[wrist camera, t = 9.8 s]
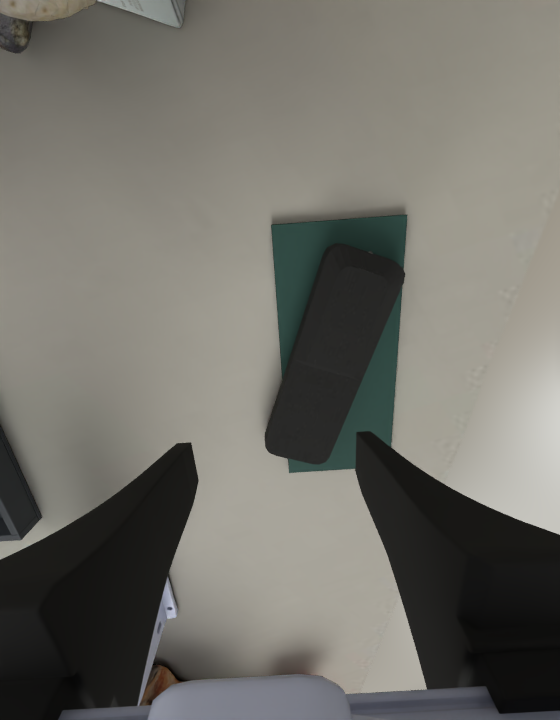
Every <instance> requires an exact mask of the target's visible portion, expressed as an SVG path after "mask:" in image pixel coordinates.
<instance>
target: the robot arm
mask: <svg viewBox="0 0 560 720" xmlns="http://www.w3.org/2000/svg"><path fill="white" fill-rule="evenodd" d="M355 471H356V475H357V478H358V482H359V485H360V489H361V492H362V495H363V497H364V500H365V502H366V504H367V507H368V509H369V512H370V514H371V516H372V519H373V521H374V523H375V526H376V528H377V530H378V533H379V535H380V538H381V540H382V542H383V545H384V547H385V550H386V553H387V555H388V558H389V561H390V564H391V567H392V570H393V574H394V577H395V580H396V583H397V586H398V589H399V593H400V596H401V599H402V602H403V605H404V609H405V612H406V616H407V619H408V623H409V626H410V629H411V633H412V636H413V640H414V643H415V646H416V650H417V654H418V657H419V661H420V664H421V668H422V671H423V675H424V679H425V683H426V687H427V690H411V691H393V692H376V693H358V694H345V692H344V690H343V689H342V688H341V687H340V686H339V685H338V684H336V683H334V682H332V681H330V680H328V679H327V678H325V677H323V676H316V675H305V674H290V675H273V676H255V677H238V678H220V679H203V680H191V681H186V682H182V683H177V684H173V685H171V686H170V687H168V688H167V689H166V690H165V691H163V692H162V693H161V694H159V695H158V696H157V697H156V698H155V699H154V700H153V702H152V705H147V706H139V705H140V702H141V700H142V697H143V694H144V690H145V687H146V684H147V681H148V677H149V674H150V671H151V668H152V664H153V661H154V658H155V655H156V651H157V648H158V645H159V642H160V639H161V635H162V632H163V629H164V626H165V622H166V619H168V618H175V617H176V616H177V613H178V609H177V606H176V603H175V599H174V596H173V592H172V589H171V585H170V582H169V578H168V573H169V570H170V567H171V564H172V561H173V558H174V555H175V552H176V549H177V547H178V544H179V541H180V539H181V536H182V533H183V531H184V528H185V525H186V522H187V520H188V517H189V514H190V511H191V509H192V506H193V503H194V499H195V494H196V490H197V485H198V481H199V480H198V475H197V470H196V465H195V460H194V455H193V450H192V445H191V443H177V444H176V445H175V446H173V447H172V448H171V449H170V450H169V451H167V452H166V453H165V454H164V455H163V456H162V457H161V458H159V459H158V460H157V461H156V462H155V463H154V464H152V465H151V466H150V467H149V468H148V469H147V470H145V471H144V472H143V473H142V474H141V475H139V476H138V477H137V478H136V479H134V480H133V481H132V482H131V483H129V484H128V485H127V486H126V487H124V488H123V489H122V490H121V491H119V492H118V493H117V494H115V495H114V496H112V497H111V498H110V499H108V500H107V501H105V502H104V503H102V504H101V505H99V506H98V507H96V508H95V509H93V510H92V511H90V512H89V513H87V514H85V515H84V516H82V517H80V518H79V519H77V520H76V521H74V522H72V523H71V524H69V525H67V526H66V527H64V528H62V529H60V530H59V531H57V532H55V533H53V534H51V535H49V536H48V537H46V538H44V539H42V540H40V541H38V542H36V543H34V544H32V545H30V546H28V547H26V548H24V549H22V550H20V551H18V552H16V553H14V554H12V555H10V556H8V557H5V558H3V559H1V560H0V720H560V535H559V534H556V533H553V532H550V531H547V530H545V529H542V528H539V527H536V526H533V525H531V524H528V523H525V522H523V521H520V520H517V519H515V518H513V517H510V516H508V515H505V514H503V513H501V512H498V511H496V510H494V509H491V508H489V507H487V506H485V505H483V504H480V503H478V502H476V501H474V500H473V499H471V498H468V497H467V496H464V495H462V494H461V493H459V492H457V491H455V490H453V489H451V488H450V487H448V486H446V485H445V484H443V483H441V482H439V481H438V480H436V479H434V478H433V477H431V476H430V475H428V474H427V473H425V472H424V471H422V470H421V469H419V468H418V467H416V466H415V465H413V464H412V463H411V462H409V461H408V460H406V459H405V458H404V457H402V456H401V455H400V454H399V453H397V452H396V451H395V450H393V449H392V448H391V447H390V446H388V445H387V444H386V443H385V442H384V441H382V440H381V439H380V438H379V437H377V436H376V435H375V434H374V433H372V432H371V431H363V432H356V467H355Z"/></svg>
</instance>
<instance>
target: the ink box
mask: <svg viewBox="0 0 560 720" xmlns="http://www.w3.org/2000/svg"><path fill="white" fill-rule="evenodd" d="M97 1H100V2H103V3H106V4H109V5H112V6H115V7H118V8H121V9H124V10H127V11H130V12H133V13H136V14H139V15H142V16H144V17H147V18H150V19H153V20H156V21H158V22H161V23H164V24H167V25H170V26H173V27H177V28H180V27H181V26H182V24H183V20H184V9H185V0H97Z"/></svg>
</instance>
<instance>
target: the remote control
mask: <svg viewBox="0 0 560 720" xmlns="http://www.w3.org/2000/svg"><path fill="white" fill-rule="evenodd" d="M404 277H405V273H404V270H403V268H402V267H401V266H400V265H399V264H398V263H396V262H395V261H393V260H391V259H389V258H386V257H383V256H379V255H376V254H373V253H372V251H369V252H367V251H364V250H361V249H358V248H355V247H352V246H349V245H346V244H339V243H335V244H333V245H331V246H329V247H327V249H326V250H325V252H324V253H323V256H322V259H321V262H320V265H319V268H318V271H317V274H316V277H315V280H314V283H313V287H312V290H311V293H310V296H309V299H308V302H307V305H306V308H305V311H304V314H303V318H302V321H301V324H300V327H299V330H298V333H297V336H296V339H295V342H294V345H293V348H292V352H291V355H290V358H289V361H288V364H287V367H286V370H285V373H284V376H283V379H282V383H281V386H280V389H279V392H278V395H277V398H276V401H275V404H274V407H273V410H272V414H271V417H270V420H269V423H268V426H267V429H266V432H265V446H266V449H267V450H268V452H269V453H271V454H274V455H276V456H280V457H284V458H288V459H292V460H297V461H301V462H305V463H309V464H317V465H320V464H322V463H325V462H326V461H327V460H328V459H329V458H330V455H331V453H332V450H333V448H334V446H335V443H336V441H337V439H338V436H339V434H340V432H341V429H342V427H343V424H344V422H345V420H346V417H347V415H348V413H349V410H350V408H351V406H352V403H353V401H354V398H355V396H356V394H357V391H358V389H359V387H360V384H361V382H362V380H363V377H364V375H365V372H366V370H367V368H368V365H369V363H370V361H371V358H372V356H373V354H374V351H375V349H376V347H377V344H378V342H379V339H380V337H381V335H382V332H383V330H384V328H385V325H386V323H387V321H388V318H389V316H390V313H391V311H392V309H393V306H394V304H395V302H396V299H397V297H398V295H399V292H400V290H401V288H402V285H403V283H404Z"/></svg>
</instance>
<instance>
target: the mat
mask: <svg viewBox="0 0 560 720" xmlns="http://www.w3.org/2000/svg"><path fill="white" fill-rule="evenodd" d="M406 226H407V215H395V216H381V217H368V218H355V219H342V220H328V221H315V222H302V223H288V224H275V225H271V228H272V242H273V256H274V270H275V284H276V297H277V311H278V325H279V339H280V353H281V367H282V379H283V376H284V373H285V370H286V367H287V364H288V361H289V358H290V355H291V352H292V348H293V345H294V342H295V339H296V336H297V333H298V330H299V327H300V324H301V321H302V318H303V314H304V311H305V308H306V305H307V302H308V299H309V296H310V293H311V290H312V287H313V283H314V280H315V277H316V274H317V271H318V268H319V265H320V262H321V259H322V256H323V253H324V252H325V250H326V249H327V247H329V246H331V245H333V244H335V243H339V244H346V245H349V246H352V247H355V248H358V249H361V250H364V251H367V252H369V251H372V253H373V254H376V255H379V256H383V257H386V258H389V259H391V260H393V261H395V262H396V263H398V264H399V265H400V266H401V267H402V268H403V269H404V254H405V240H406ZM401 297H402V288H401V290H400V292H399V295H398V297H397V299H396V302H395V304H394V306H393V309H392V311H391V313H390V316H389V318H388V321H387V323H386V325H385V328H384V330H383V332H382V335H381V337H380V339H379V342H378V344H377V347H376V349H375V351H374V354H373V356H372V358H371V361H370V363H369V365H368V368H367V370H366V372H365V375H364V377H363V380H362V382H361V384H360V387H359V389H358V391H357V394H356V396H355V398H354V401H353V403H352V406H351V408H350V410H349V413H348V415H347V417H346V420H345V422H344V424H343V427H342V429H341V432H340V434H339V436H338V439H337V441H336V443H335V446H334V448H333V450H332V453H331V455H330V458H329V459H328V460H327V461H326V462H325V463H322V464H320V465H317V464H309V463H305V462H301V461H297V460H292V459H288V463H289V473H294V472H310V471H325V470H341V469H355V467H356V432H363V431H371V432H372V433H374V434H375V435H376V436H377V437H379V438H380V439H381V440H382V441H384V442H385V443H386V444H387V445H388V446H390V447H391V439H392V425H393V411H394V397H395V382H396V368H397V354H398V340H399V326H400V311H401Z"/></svg>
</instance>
